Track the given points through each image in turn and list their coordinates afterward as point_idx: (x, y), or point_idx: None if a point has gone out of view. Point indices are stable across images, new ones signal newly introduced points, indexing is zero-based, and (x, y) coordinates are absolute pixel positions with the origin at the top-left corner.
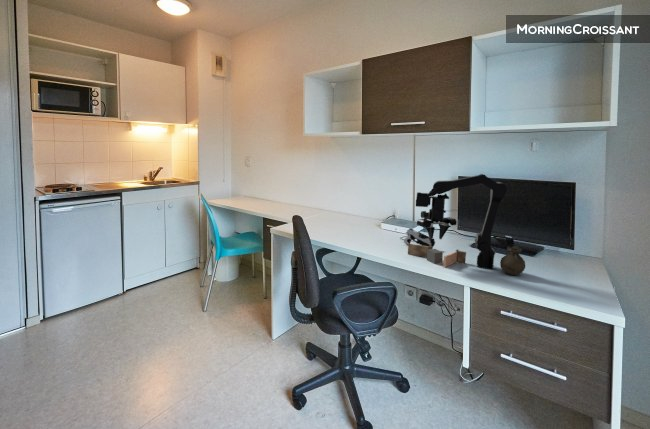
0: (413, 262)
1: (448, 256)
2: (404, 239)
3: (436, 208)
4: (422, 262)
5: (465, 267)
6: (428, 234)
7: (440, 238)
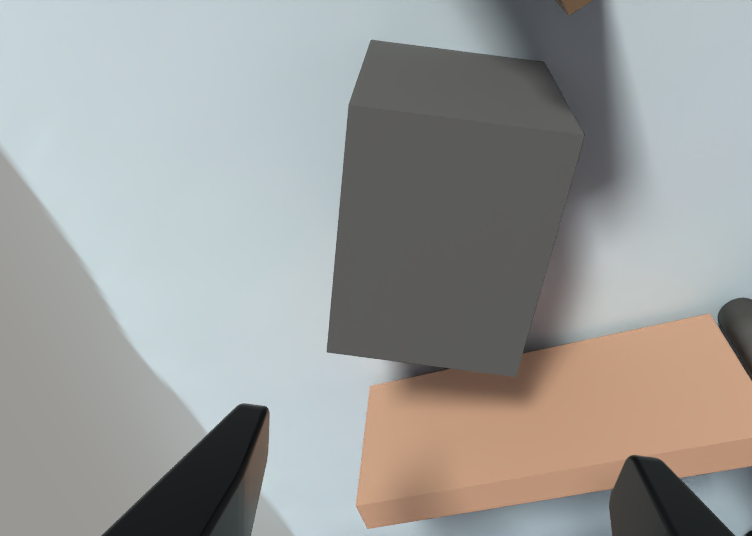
0: (58, 45)
1: (441, 505)
2: None
3: None
4: (214, 112)
5: None
6: (110, 529)
7: (618, 517)
